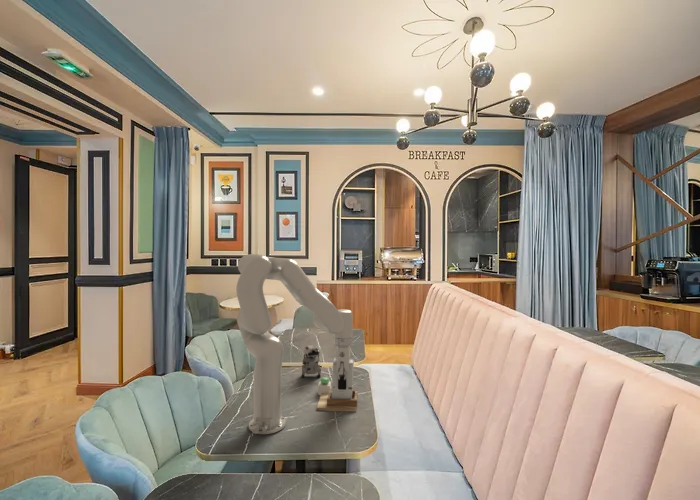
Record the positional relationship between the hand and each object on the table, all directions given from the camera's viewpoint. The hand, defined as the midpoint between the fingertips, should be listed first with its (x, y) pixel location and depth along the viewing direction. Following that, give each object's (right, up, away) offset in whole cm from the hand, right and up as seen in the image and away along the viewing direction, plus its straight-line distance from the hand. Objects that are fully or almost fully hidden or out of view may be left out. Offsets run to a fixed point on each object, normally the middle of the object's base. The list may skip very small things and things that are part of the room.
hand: (342, 385), depth 140 cm
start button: (-8, -6, +10) cm, 14 cm away
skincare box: (0, -5, 0) cm, 5 cm away
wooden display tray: (-2, -7, 0) cm, 8 cm away
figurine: (-16, -7, +27) cm, 32 cm away
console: (-8, -7, +10) cm, 15 cm away
